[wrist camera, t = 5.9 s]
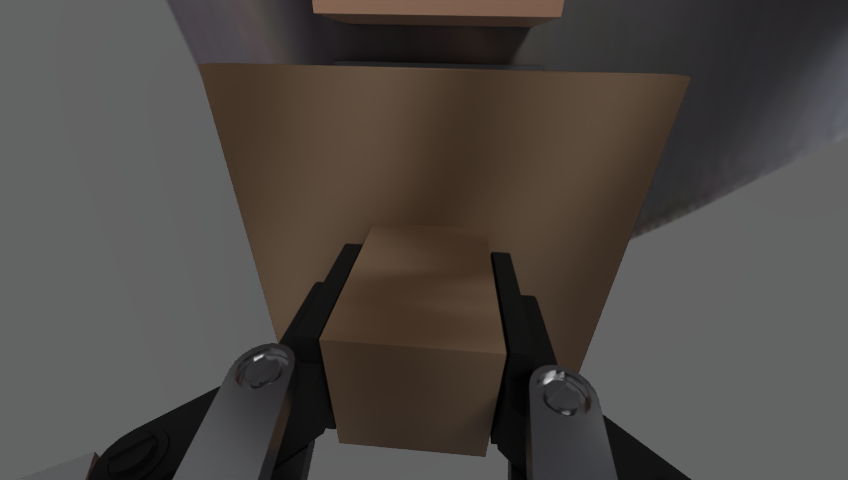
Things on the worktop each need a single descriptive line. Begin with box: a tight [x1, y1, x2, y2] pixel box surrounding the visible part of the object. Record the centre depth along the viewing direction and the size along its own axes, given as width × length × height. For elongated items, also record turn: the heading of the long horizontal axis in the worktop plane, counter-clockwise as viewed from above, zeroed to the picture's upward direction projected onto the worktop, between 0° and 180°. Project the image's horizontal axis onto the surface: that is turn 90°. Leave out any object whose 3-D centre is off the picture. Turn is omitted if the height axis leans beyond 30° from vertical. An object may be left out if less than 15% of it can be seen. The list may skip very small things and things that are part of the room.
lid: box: [198, 63, 692, 457], centre depth 10 cm, size 12×12×6 cm
